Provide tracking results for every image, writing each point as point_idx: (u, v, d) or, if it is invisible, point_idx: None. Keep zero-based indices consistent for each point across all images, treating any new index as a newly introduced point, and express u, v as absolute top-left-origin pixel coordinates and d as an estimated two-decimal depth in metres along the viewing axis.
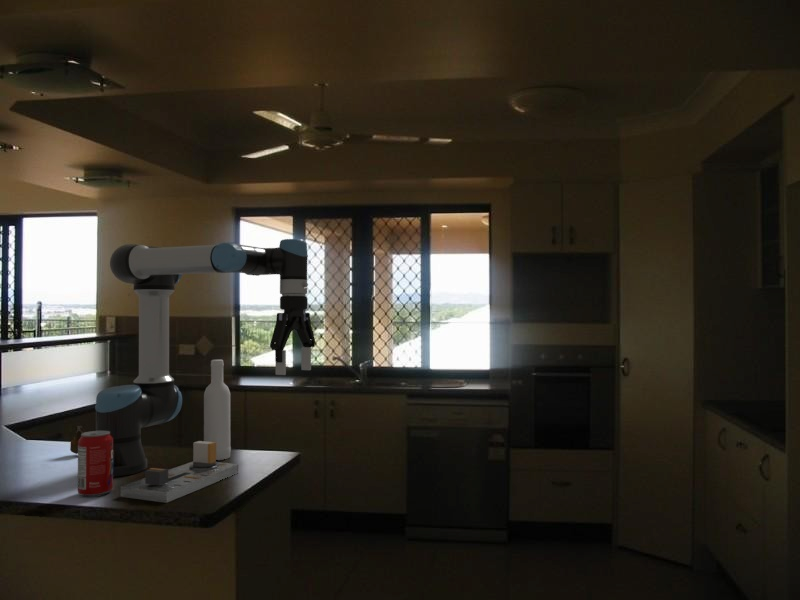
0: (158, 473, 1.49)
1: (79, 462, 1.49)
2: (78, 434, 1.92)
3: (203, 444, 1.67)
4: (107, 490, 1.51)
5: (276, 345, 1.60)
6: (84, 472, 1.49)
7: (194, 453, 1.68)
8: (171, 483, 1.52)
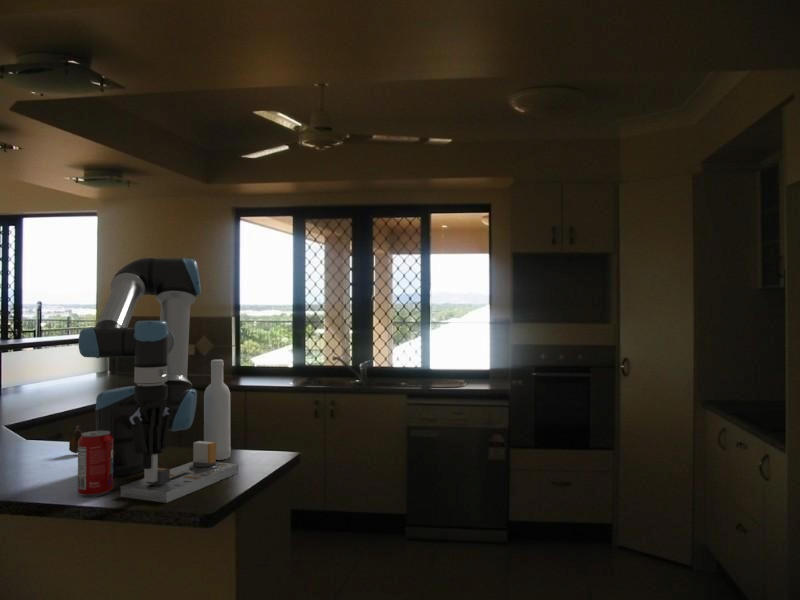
0: (159, 473, 1.50)
1: (79, 462, 1.49)
2: (77, 434, 1.93)
3: (203, 444, 1.67)
4: (107, 490, 1.51)
5: (142, 451, 1.46)
6: (84, 472, 1.49)
7: (194, 453, 1.68)
8: (171, 483, 1.52)
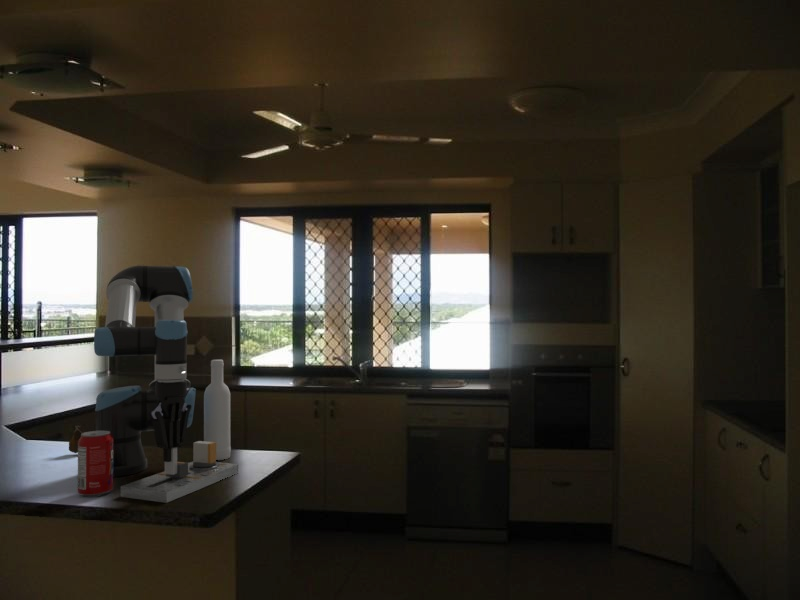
0: (178, 466, 1.56)
1: (79, 462, 1.49)
2: (77, 433, 1.93)
3: (203, 444, 1.67)
4: (107, 490, 1.51)
5: (163, 445, 1.52)
6: (84, 472, 1.49)
7: (194, 453, 1.68)
8: (171, 483, 1.52)
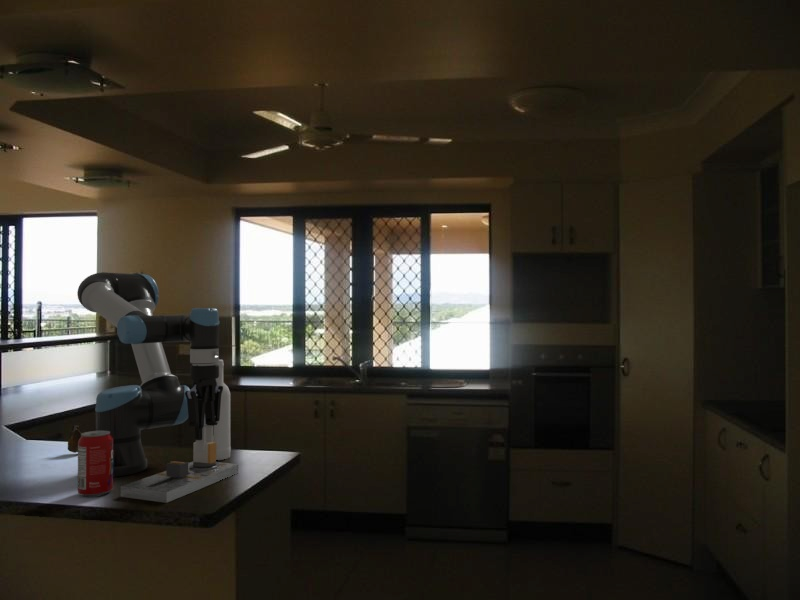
0: (179, 466, 1.56)
1: (79, 462, 1.49)
2: (76, 433, 1.94)
3: None
4: (107, 490, 1.51)
5: (195, 424, 1.63)
6: (84, 472, 1.49)
7: (194, 453, 1.68)
8: (171, 483, 1.52)
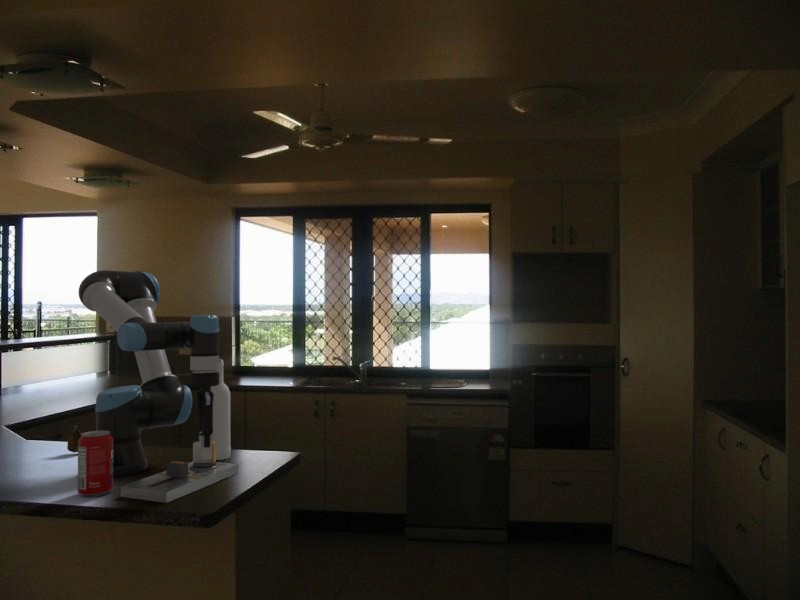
0: (179, 466, 1.56)
1: (79, 462, 1.49)
2: (75, 433, 1.94)
3: None
4: (107, 490, 1.51)
5: (211, 431, 1.63)
6: (84, 472, 1.49)
7: (194, 454, 1.67)
8: (171, 483, 1.52)
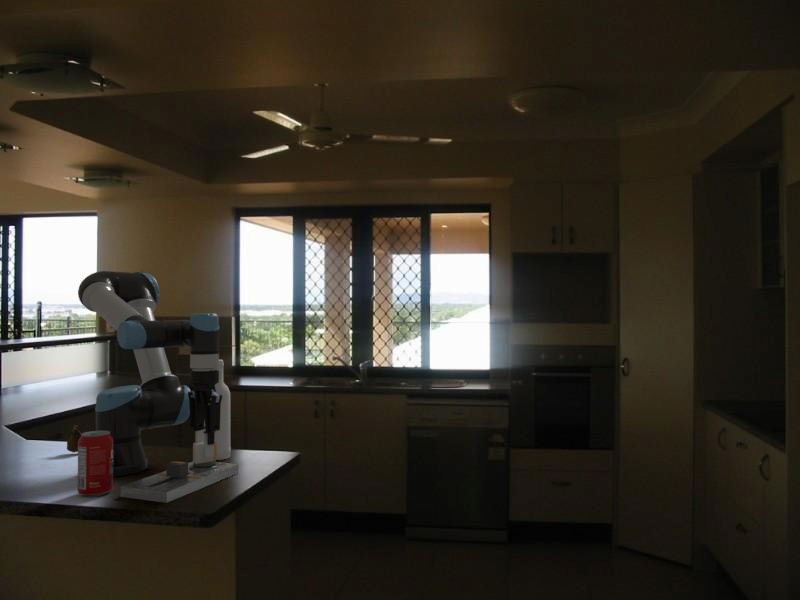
0: (179, 466, 1.56)
1: (79, 462, 1.49)
2: (75, 433, 1.94)
3: None
4: (107, 490, 1.51)
5: (218, 428, 1.65)
6: (84, 472, 1.49)
7: (197, 455, 1.66)
8: (171, 483, 1.52)
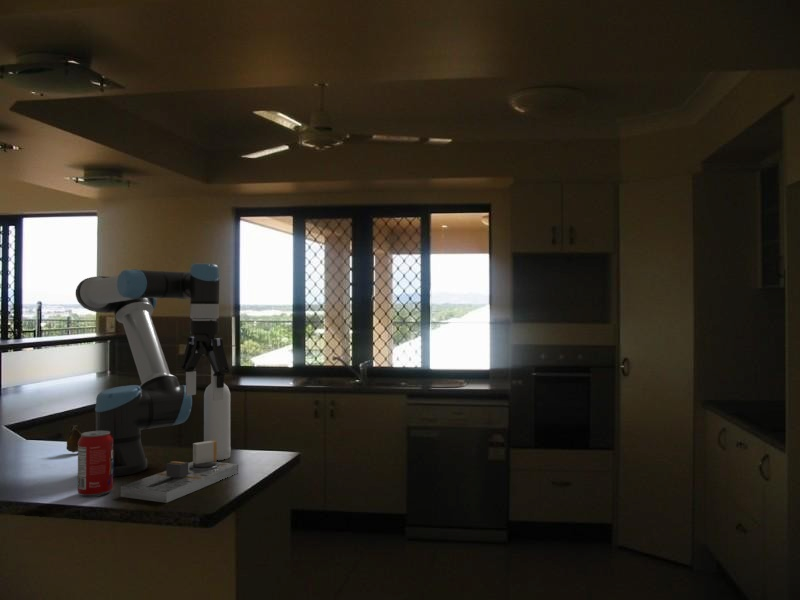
0: (179, 466, 1.56)
1: (79, 462, 1.49)
2: (75, 433, 1.94)
3: (208, 443, 1.68)
4: (107, 490, 1.51)
5: (227, 370, 1.63)
6: (84, 472, 1.49)
7: (197, 455, 1.66)
8: (171, 483, 1.52)
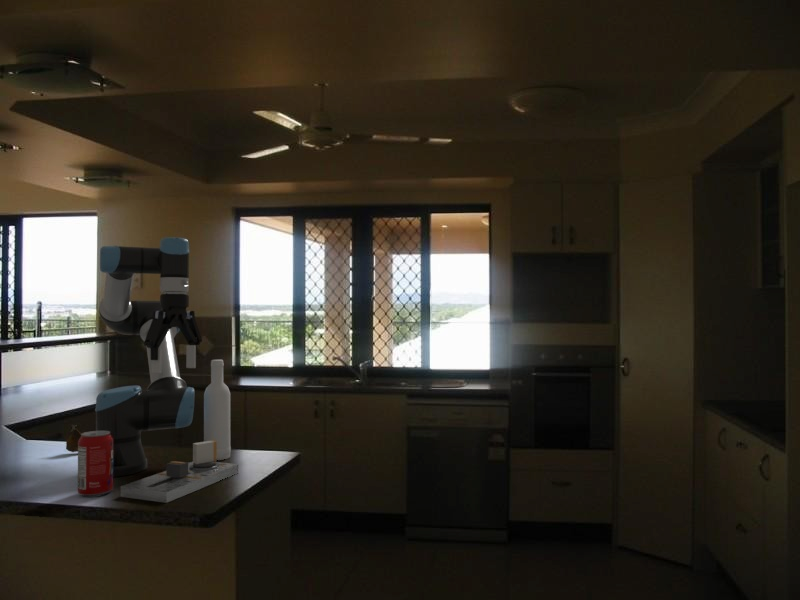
0: (179, 466, 1.56)
1: (79, 462, 1.49)
2: (74, 433, 1.95)
3: (208, 443, 1.68)
4: (107, 490, 1.51)
5: (150, 343, 1.61)
6: (84, 472, 1.49)
7: (197, 455, 1.66)
8: (171, 483, 1.52)
